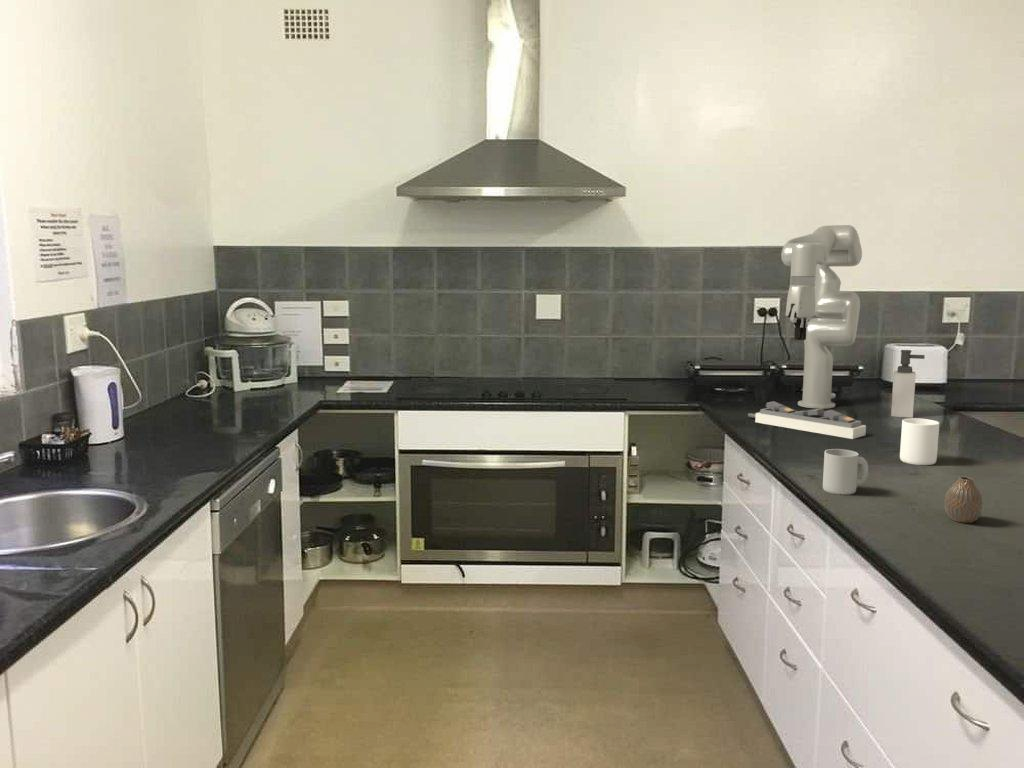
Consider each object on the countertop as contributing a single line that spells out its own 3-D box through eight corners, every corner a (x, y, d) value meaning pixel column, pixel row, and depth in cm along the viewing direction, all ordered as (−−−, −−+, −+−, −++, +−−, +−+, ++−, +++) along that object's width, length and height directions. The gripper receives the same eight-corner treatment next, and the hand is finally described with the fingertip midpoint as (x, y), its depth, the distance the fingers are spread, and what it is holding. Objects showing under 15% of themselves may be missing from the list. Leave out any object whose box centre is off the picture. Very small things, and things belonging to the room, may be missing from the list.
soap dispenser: (920, 418, 263) (925, 352, 260) (891, 416, 267) (895, 351, 263) (919, 414, 269) (924, 350, 265) (891, 412, 272) (895, 349, 269)
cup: (817, 486, 186) (819, 449, 185) (860, 485, 186) (862, 448, 185) (829, 495, 179) (831, 456, 178) (874, 494, 179) (876, 456, 178)
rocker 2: (801, 416, 252) (800, 410, 252) (824, 413, 246) (823, 407, 246) (794, 417, 250) (793, 412, 250) (817, 415, 244) (816, 409, 244)
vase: (945, 523, 160) (949, 481, 158) (940, 513, 166) (944, 472, 165) (985, 527, 157) (988, 484, 156) (978, 516, 164) (982, 475, 162)
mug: (924, 454, 215) (927, 415, 213) (941, 466, 203) (944, 425, 201) (890, 454, 216) (893, 415, 214) (906, 465, 204) (908, 424, 202)
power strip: (755, 416, 268) (755, 404, 267) (865, 435, 239) (866, 421, 238) (742, 419, 263) (742, 407, 262) (852, 439, 234) (853, 424, 233)
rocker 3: (830, 414, 245) (831, 409, 244) (853, 424, 239) (855, 418, 239) (823, 416, 242) (824, 410, 242) (847, 426, 237) (848, 420, 236)
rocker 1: (772, 405, 260) (773, 400, 259) (793, 414, 254) (795, 409, 254) (765, 407, 258) (766, 402, 257) (786, 416, 252) (788, 411, 251)
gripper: (804, 281, 260) (802, 337, 262) (778, 282, 250) (776, 340, 253) (826, 282, 254) (823, 339, 257) (800, 282, 245) (797, 342, 247)
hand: (799, 339), depth 255 cm, fingers closed
